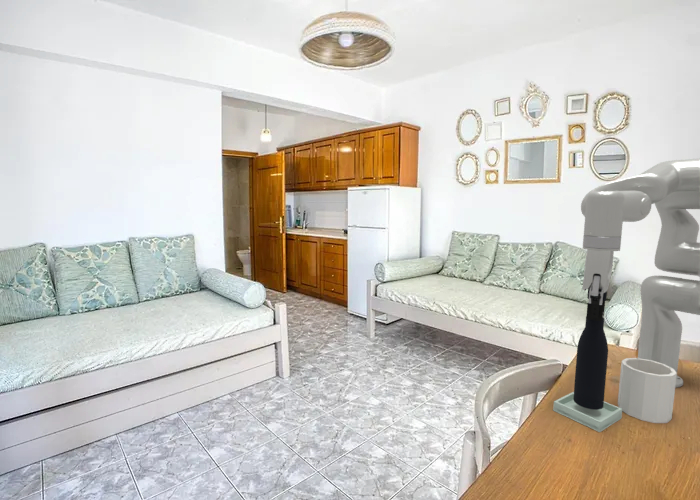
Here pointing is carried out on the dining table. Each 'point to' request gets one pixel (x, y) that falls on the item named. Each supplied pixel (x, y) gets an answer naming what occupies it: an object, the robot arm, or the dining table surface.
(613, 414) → the sage tray
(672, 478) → the dining table surface
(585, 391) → the wine bottle
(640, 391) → the wine cooler
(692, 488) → the dining table surface
